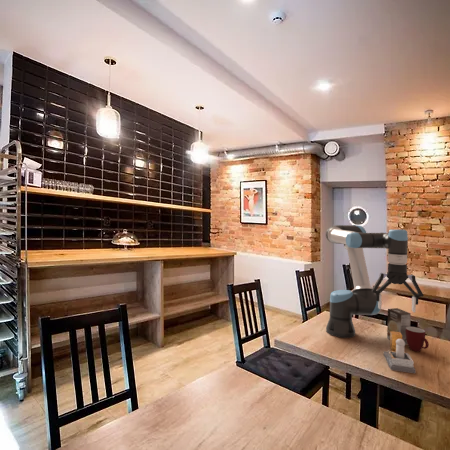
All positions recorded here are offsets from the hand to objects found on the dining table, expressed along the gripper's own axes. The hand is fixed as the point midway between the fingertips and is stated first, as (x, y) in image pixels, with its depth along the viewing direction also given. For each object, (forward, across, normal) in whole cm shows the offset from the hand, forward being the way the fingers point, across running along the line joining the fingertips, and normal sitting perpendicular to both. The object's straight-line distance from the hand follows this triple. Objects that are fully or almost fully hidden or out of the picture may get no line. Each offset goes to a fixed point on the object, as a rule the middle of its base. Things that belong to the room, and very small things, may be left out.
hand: (396, 310), depth 132 cm
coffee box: (+22, +6, +22) cm, 32 cm away
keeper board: (+22, 0, -5) cm, 23 cm away
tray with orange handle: (+21, 0, -5) cm, 21 cm away
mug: (+22, +12, +12) cm, 28 cm away
